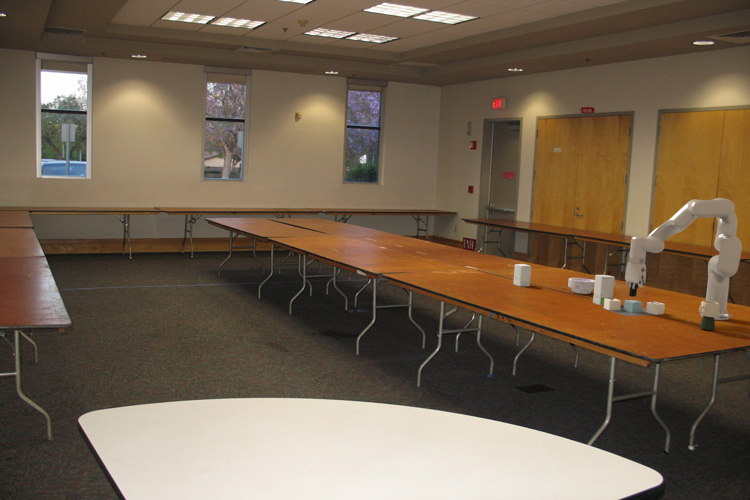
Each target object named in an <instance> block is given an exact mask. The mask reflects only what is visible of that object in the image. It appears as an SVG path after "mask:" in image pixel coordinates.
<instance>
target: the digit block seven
mask: <svg viewBox="0 0 750 500" xmlns="http://www.w3.org/2000/svg"><path fill="white" fill-rule="evenodd" d="M621 303H622V301H621V300H620V299H618V298H614V297H613V298H605V299H604V305H603V308H605V309H604V310H606V309H607V310H606V311H609V310H620V307H622V304H621Z"/></svg>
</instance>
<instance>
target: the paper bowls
mask: <svg viewBox="0 0 750 500" xmlns="http://www.w3.org/2000/svg"><path fill="white" fill-rule="evenodd" d="M567 286H568V288H570V289H571V291H572V293H574V294H578V295H589V294H591V293H592V291H594V286H595V279H589V278H585V277H584V278H582V277H569V278H568V285H567Z"/></svg>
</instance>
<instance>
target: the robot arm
mask: <svg viewBox="0 0 750 500" xmlns="http://www.w3.org/2000/svg"><path fill="white" fill-rule="evenodd" d="M735 207H736V206H735V203H734V202H733V201H732V200H730V199H728V198H722V197H716V198H713V199H704V200H703V199H695V198H694V199H690V200H689V201H688V202H686V203H685V204H684V205H683V206H682V207H681V208H680V209H679V210H677V212H675V214H673V215H672V216H671V217H670V218H669V219H668V220H666V221H665V222H663V223H662V224H660V225H659V226H658V227H656V228H655V229H654V230H653V231H652V232H651V233H650V234H649V235H648V236H647V237H645V236H640V235H639V236H638V235H636V236H632V237H631V240H630V248H629V257H628V262H627V265H626V267H625V268H626V269H625V275H624V279H625V283H626V284H627V285H628V288H629V293H628V296H629V297H637V291H638V290H639V288H641V287H643V284H644V285H645V283H646V279H647V267H646V266H647V265H646V264H645V263H646V255H647V254H646V253H648V252H649V253H654V254H659V253H661V252H662V251H664V249H665V241H666V240H667V239H669V238H670V237H673V236H674V235H677V234H680V233H682V232H683V231H685V230H686V229H687V228H688V227H689V226H690V225H691V224H692V223H693V222H694V221H696V220H697V219H698V218H716V220H717V228H716V233H715V239H714V244H713V245H714V248H715V250H716V251H718V253H719V254H716V255H714V256H712V257H711V258H710V259H709V261H708V263H707V276H708V277H707V288H706V295H705V301H713V302H717V303H719V306H720V309H719V312H718V315H717V317H714V319H715V321H728V320H730V318H731V317H732V313H729V310H728V309H727V306H728V305H727V304H728V297H729V289H730V277H732V276H733V277H734V275H735V274H737V272H738V269H739V265H740V261H741V255H742V249H743V245H742V242H741V240H740V238H739V237H737V236H736V235H737V229H738V217H737V214H736V212H735ZM700 316H701V318H702V317H703V315H701V314H700Z"/></svg>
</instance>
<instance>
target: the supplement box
mask: <svg viewBox="0 0 750 500" xmlns="http://www.w3.org/2000/svg"><path fill="white" fill-rule="evenodd" d="M531 272H532V265H528V264H527V263H526V264H525V263H520V264H519V263H518V264H517V263H516V264H514V271H513V285H515V286H518V287H530V286H531V277H532V276H531Z"/></svg>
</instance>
